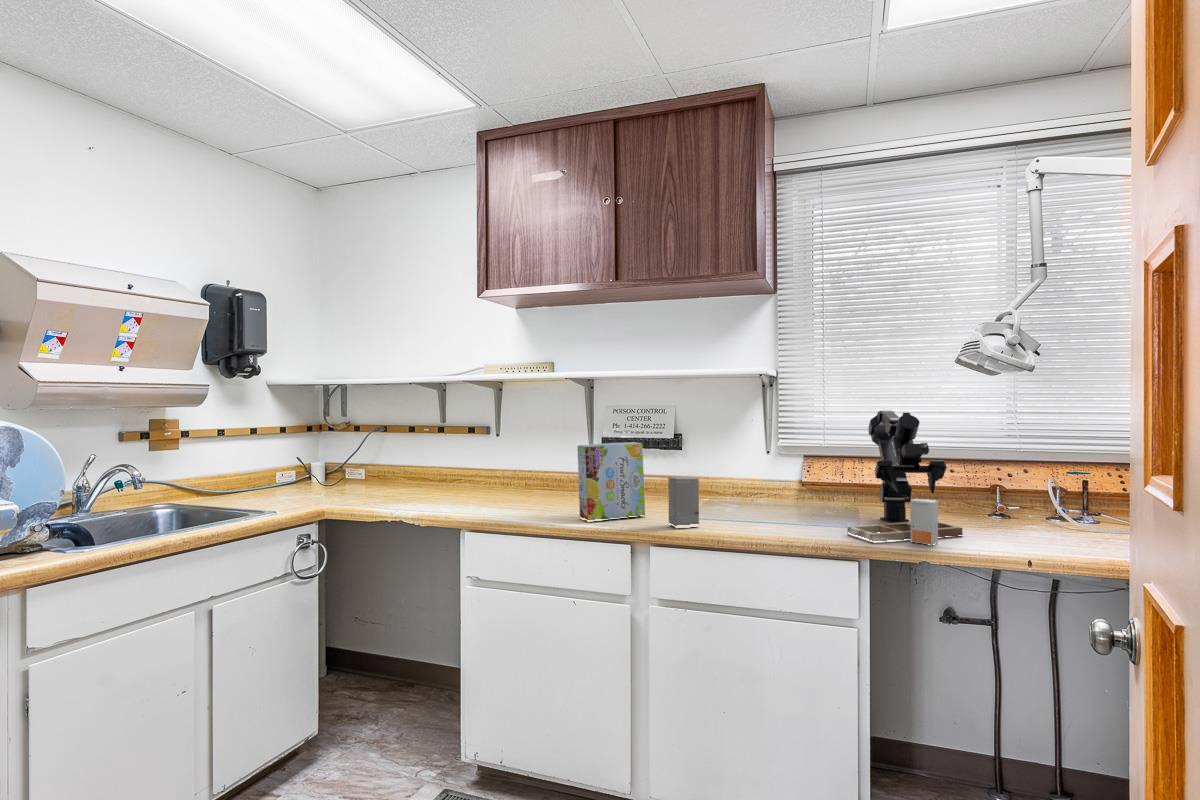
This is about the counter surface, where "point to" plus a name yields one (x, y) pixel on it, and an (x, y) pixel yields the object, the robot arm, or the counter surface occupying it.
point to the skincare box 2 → (924, 521)
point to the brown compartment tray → (898, 531)
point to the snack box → (611, 480)
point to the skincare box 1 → (683, 500)
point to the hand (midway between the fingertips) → (915, 492)
